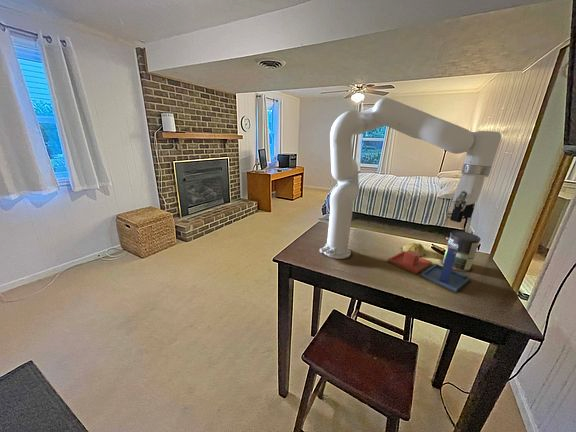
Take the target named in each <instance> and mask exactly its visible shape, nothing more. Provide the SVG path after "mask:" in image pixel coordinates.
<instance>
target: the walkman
mask: <svg viewBox="0 0 576 432" xmlns="http://www.w3.org/2000/svg"><path fill="white" fill-rule="evenodd" d="M457 250H458V248H455V247H452V246H450V247H449V249H448V251H447V254H446V258H445V261H444V262H443V265H442V266H443V268H442V272H441V275H440V279H439V280H440V281H443V282H446V283H448V280H449V277H450V274H451V270H453V268H452V267H453V264H454V260H455V257H456V253H457Z"/></svg>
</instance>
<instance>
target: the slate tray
mask: <svg viewBox="0 0 576 432" xmlns="http://www.w3.org/2000/svg"><path fill="white" fill-rule="evenodd" d="M442 268H443V265H440V264H437V263H435V264H434V265H432V266H430V267H429V268H427V269H426V270H424V271H423V272H421V275H420V276H421V277H423V278H426V279H427V280H430V281H432V282H434V283H436V284H438V285H441V286H443V287H445V288H447V289H449V290H451V291H454V292H458V291H459V290H460V289H461V288H463V286H464V285H466V284H467V283H468V282H469V281H470V280H471V277H470V276H469V275H465V274H463V273H461V272H458V271H455V270H453V269H452V270H451V274H450V277H449V280H448V283H446V282H443V281H440V280H439V279H440V275H441V272H442Z"/></svg>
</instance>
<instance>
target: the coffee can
mask: <svg viewBox="0 0 576 432" xmlns="http://www.w3.org/2000/svg"><path fill="white" fill-rule="evenodd" d="M480 242H481V238H480V236H478V235H476V234H474V233H471V232H468V231H464V230H452V231H450V232H449V238H448V241H447V245H446V248H445V252H444V256H443V259H442V263H444V261H445V258H446V254H447V251H448V249H449V247H450V246H452V247H455V248H458V250H457V253H456V257H455V260H454V264H453V267H452V269H454V270H457V271H470V270H471V268H472V266H473V262H474V259H475V256H476V253H477V250H478V247H479V244H480Z"/></svg>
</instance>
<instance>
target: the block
mask: <svg viewBox="0 0 576 432" xmlns="http://www.w3.org/2000/svg"><path fill="white" fill-rule="evenodd" d="M419 257H421V256H420V254H419V253H417V252H414V251H412V250H408V251H406V252H404V257H403V261H402V262H404V263H407V264H409V265H411V266H414V265H415V264H417V263H418V260H419Z"/></svg>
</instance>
